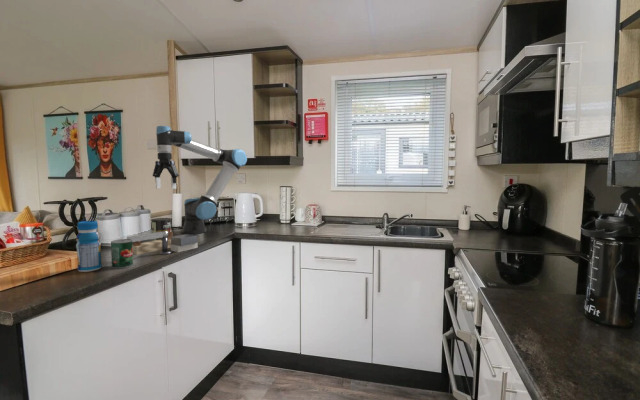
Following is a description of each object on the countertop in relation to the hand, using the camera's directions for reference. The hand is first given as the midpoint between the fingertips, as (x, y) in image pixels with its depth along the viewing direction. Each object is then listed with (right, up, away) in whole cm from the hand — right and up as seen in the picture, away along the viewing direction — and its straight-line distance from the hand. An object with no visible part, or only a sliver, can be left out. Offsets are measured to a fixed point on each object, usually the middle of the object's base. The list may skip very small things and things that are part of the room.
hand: (166, 188), depth 193 cm
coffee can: (+1, -32, -7) cm, 33 cm away
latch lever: (+9, -26, -37) cm, 46 cm away
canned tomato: (+6, -36, -52) cm, 64 cm away
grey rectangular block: (+20, -30, -21) cm, 42 cm away
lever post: (+14, -34, -31) cm, 47 cm away
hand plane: (+5, -33, -23) cm, 40 cm away
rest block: (+20, -33, -21) cm, 44 cm away
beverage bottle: (-4, -36, -58) cm, 68 cm away
